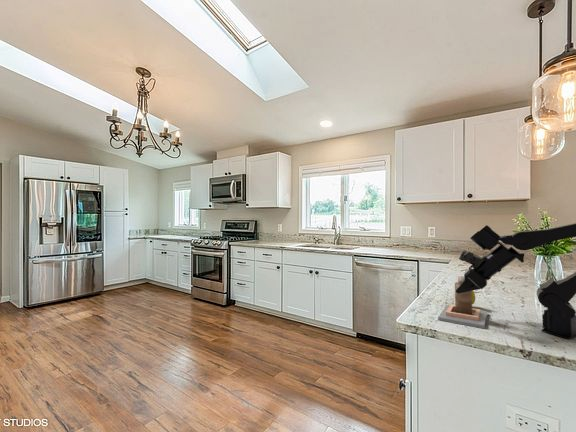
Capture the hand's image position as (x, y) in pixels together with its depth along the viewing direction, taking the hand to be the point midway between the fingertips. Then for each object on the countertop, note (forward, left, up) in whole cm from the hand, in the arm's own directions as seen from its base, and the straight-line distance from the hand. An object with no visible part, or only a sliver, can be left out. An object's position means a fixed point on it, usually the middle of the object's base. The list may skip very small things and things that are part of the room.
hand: (458, 289), depth 98 cm
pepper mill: (-1, -1, -8) cm, 9 cm away
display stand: (-1, -1, -10) cm, 10 cm away
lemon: (+6, -12, -10) cm, 16 cm away
